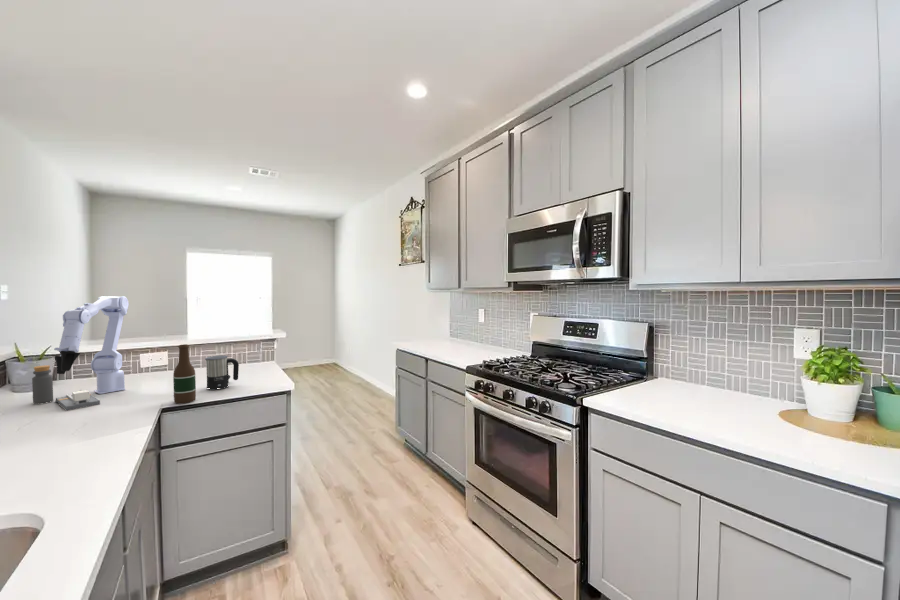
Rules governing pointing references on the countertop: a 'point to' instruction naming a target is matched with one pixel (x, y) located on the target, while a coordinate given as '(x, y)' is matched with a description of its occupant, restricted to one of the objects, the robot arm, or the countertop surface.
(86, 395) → the fader tab
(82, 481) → the countertop surface
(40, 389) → the bottle
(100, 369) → the robot arm
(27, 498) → the countertop surface
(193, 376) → the beer bottle
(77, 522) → the countertop surface
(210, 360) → the milk frother
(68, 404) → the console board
